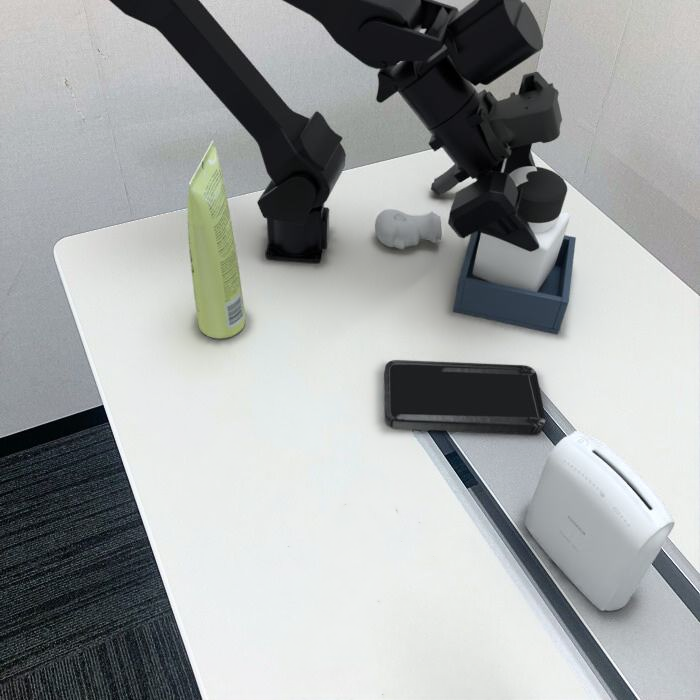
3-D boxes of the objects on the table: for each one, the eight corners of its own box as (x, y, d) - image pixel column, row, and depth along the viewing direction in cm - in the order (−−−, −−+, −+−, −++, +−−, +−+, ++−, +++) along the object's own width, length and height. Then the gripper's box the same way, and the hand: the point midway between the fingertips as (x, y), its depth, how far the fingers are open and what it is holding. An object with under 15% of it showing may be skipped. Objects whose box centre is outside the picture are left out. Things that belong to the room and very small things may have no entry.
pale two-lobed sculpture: (371, 255, 90) (378, 220, 92) (438, 263, 89) (443, 228, 91) (370, 234, 86) (377, 198, 88) (440, 242, 85) (445, 206, 88)
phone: (547, 427, 70) (385, 420, 70) (544, 434, 71) (384, 428, 70) (534, 364, 75) (384, 358, 75) (532, 372, 76) (384, 365, 76)
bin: (452, 312, 82) (458, 279, 79) (469, 249, 90) (475, 217, 86) (558, 334, 80) (568, 302, 77) (566, 268, 88) (576, 237, 85)
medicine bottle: (555, 265, 84) (584, 173, 76) (531, 301, 80) (560, 207, 71) (496, 242, 87) (518, 150, 78) (470, 276, 82) (491, 182, 74)
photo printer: (514, 522, 64) (546, 432, 55) (551, 500, 66) (589, 409, 57) (601, 623, 58) (653, 541, 49) (640, 596, 60) (697, 512, 51)
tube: (187, 314, 80) (160, 153, 66) (230, 298, 82) (213, 138, 68) (211, 347, 77) (188, 184, 63) (255, 329, 79) (242, 167, 65)
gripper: (509, 110, 61) (608, 247, 67) (533, 19, 73) (615, 141, 79) (404, 175, 67) (502, 294, 74) (443, 82, 80) (524, 190, 86)
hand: (539, 225), depth 78 cm, fingers closed on medicine bottle, 8 cm apart
